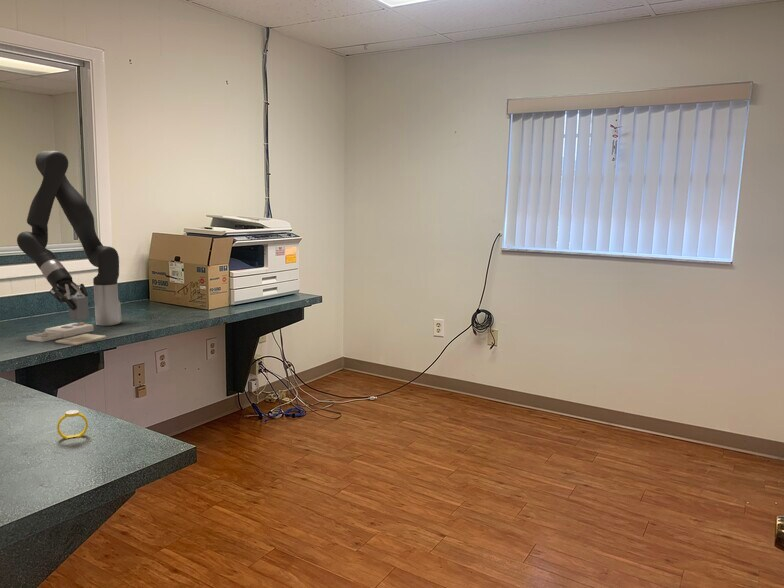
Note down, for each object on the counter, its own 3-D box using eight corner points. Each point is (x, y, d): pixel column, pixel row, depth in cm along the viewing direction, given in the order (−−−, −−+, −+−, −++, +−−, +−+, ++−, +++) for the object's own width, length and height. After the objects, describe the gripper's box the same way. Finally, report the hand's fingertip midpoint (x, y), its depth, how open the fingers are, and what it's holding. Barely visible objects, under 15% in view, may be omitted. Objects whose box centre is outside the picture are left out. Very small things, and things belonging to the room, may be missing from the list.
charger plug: (80, 316, 228) (79, 296, 226) (88, 317, 226) (87, 296, 225) (69, 319, 223) (68, 297, 222) (77, 319, 222) (76, 298, 220)
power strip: (75, 328, 246) (74, 321, 245) (93, 330, 242) (93, 323, 242) (25, 339, 225) (24, 331, 225) (44, 342, 222) (43, 334, 221)
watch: (87, 434, 136) (87, 408, 135) (87, 438, 133) (88, 412, 133) (57, 436, 133) (57, 411, 132) (57, 441, 131) (57, 414, 130)
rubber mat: (86, 335, 234) (86, 333, 234) (106, 337, 231) (106, 335, 231) (55, 342, 221) (55, 340, 221) (75, 345, 218) (75, 343, 218)
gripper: (43, 268, 218) (70, 304, 216) (77, 265, 231) (102, 298, 229) (34, 282, 221) (60, 317, 218) (67, 278, 234) (92, 311, 231)
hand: (81, 307), depth 224 cm, fingers closed on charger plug, 5 cm apart
